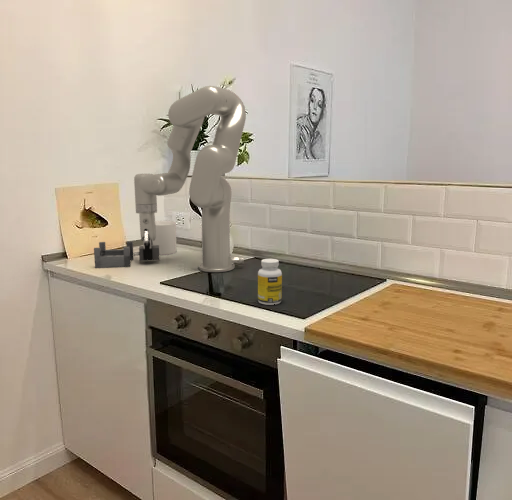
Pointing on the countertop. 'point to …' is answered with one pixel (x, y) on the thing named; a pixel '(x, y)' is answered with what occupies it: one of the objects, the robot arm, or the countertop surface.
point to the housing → (113, 256)
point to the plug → (154, 251)
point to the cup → (165, 237)
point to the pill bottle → (269, 282)
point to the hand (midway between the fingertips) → (148, 257)
